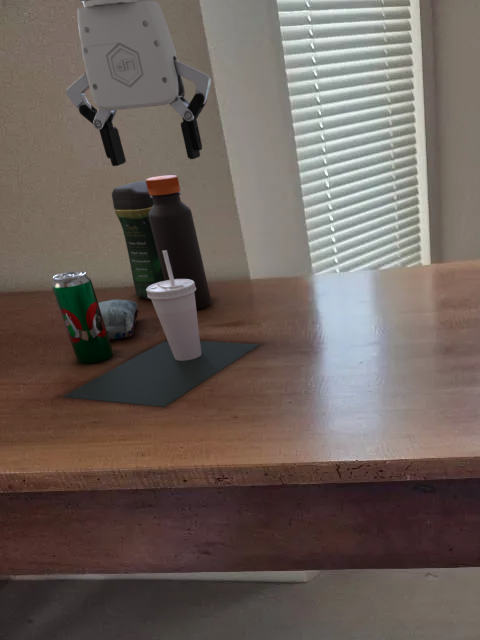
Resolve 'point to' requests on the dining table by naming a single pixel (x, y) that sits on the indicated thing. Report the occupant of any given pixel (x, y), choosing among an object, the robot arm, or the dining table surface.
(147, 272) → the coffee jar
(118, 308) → the packaged food
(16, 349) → the dining table surface
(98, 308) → the soda can
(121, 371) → the mat
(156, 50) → the robot arm
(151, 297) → the smoothie
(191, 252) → the vinegar
